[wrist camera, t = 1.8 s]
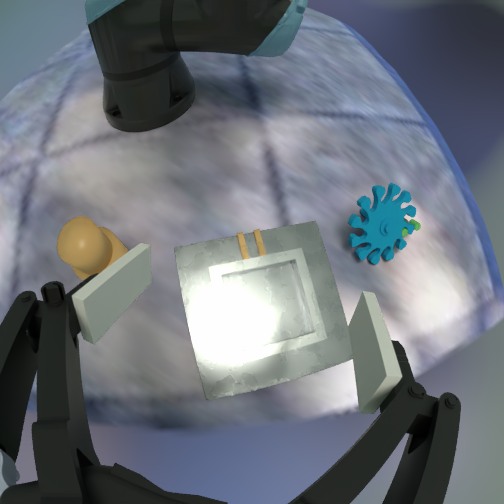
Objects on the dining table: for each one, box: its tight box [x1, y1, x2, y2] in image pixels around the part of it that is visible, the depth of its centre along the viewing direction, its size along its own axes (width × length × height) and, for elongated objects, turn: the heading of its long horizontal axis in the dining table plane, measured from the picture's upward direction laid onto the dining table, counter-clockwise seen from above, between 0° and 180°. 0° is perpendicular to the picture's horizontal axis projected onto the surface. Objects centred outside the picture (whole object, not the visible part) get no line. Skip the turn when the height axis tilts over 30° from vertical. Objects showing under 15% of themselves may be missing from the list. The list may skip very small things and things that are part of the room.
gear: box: [348, 183, 420, 264], centre depth 31 cm, size 11×6×10 cm
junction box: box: [174, 221, 353, 400], centre depth 27 cm, size 16×16×3 cm
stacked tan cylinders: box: [57, 216, 129, 280], centre depth 23 cm, size 5×5×10 cm
